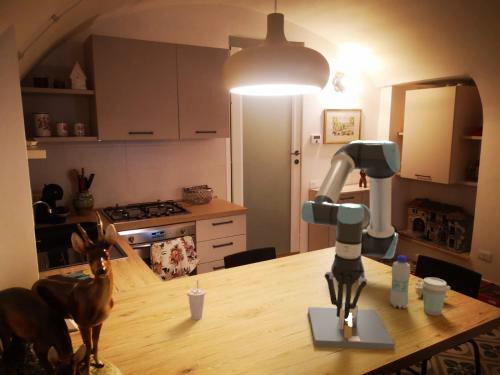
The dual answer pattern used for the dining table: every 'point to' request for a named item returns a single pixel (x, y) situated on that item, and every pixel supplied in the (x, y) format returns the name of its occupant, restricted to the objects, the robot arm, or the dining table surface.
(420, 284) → the cat figurine
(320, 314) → the grey base plate
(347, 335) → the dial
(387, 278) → the dining table surface
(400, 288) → the bottle
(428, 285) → the coffee cup
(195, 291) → the smoothie
